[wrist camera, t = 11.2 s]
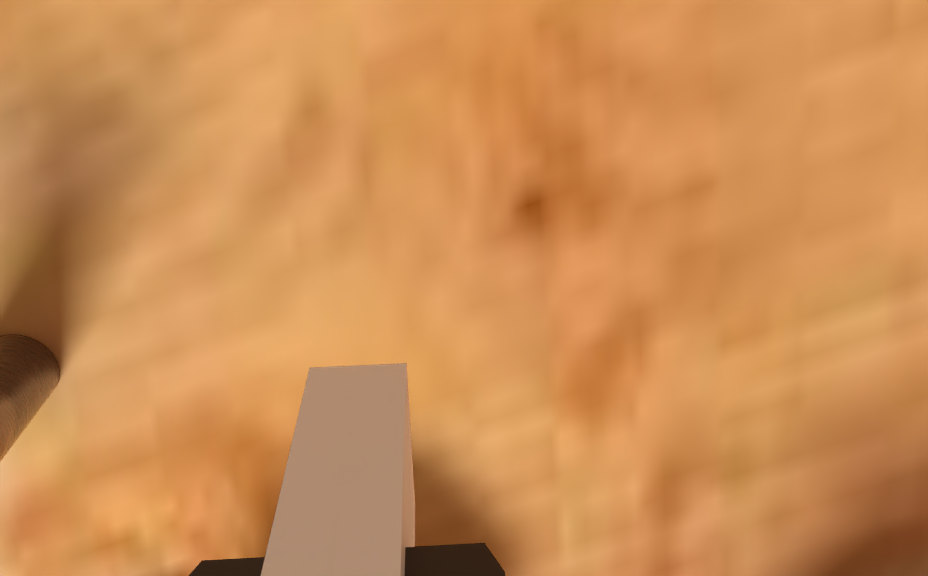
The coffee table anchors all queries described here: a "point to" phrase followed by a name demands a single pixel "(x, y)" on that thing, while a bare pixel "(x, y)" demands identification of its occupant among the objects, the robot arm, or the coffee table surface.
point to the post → (23, 384)
